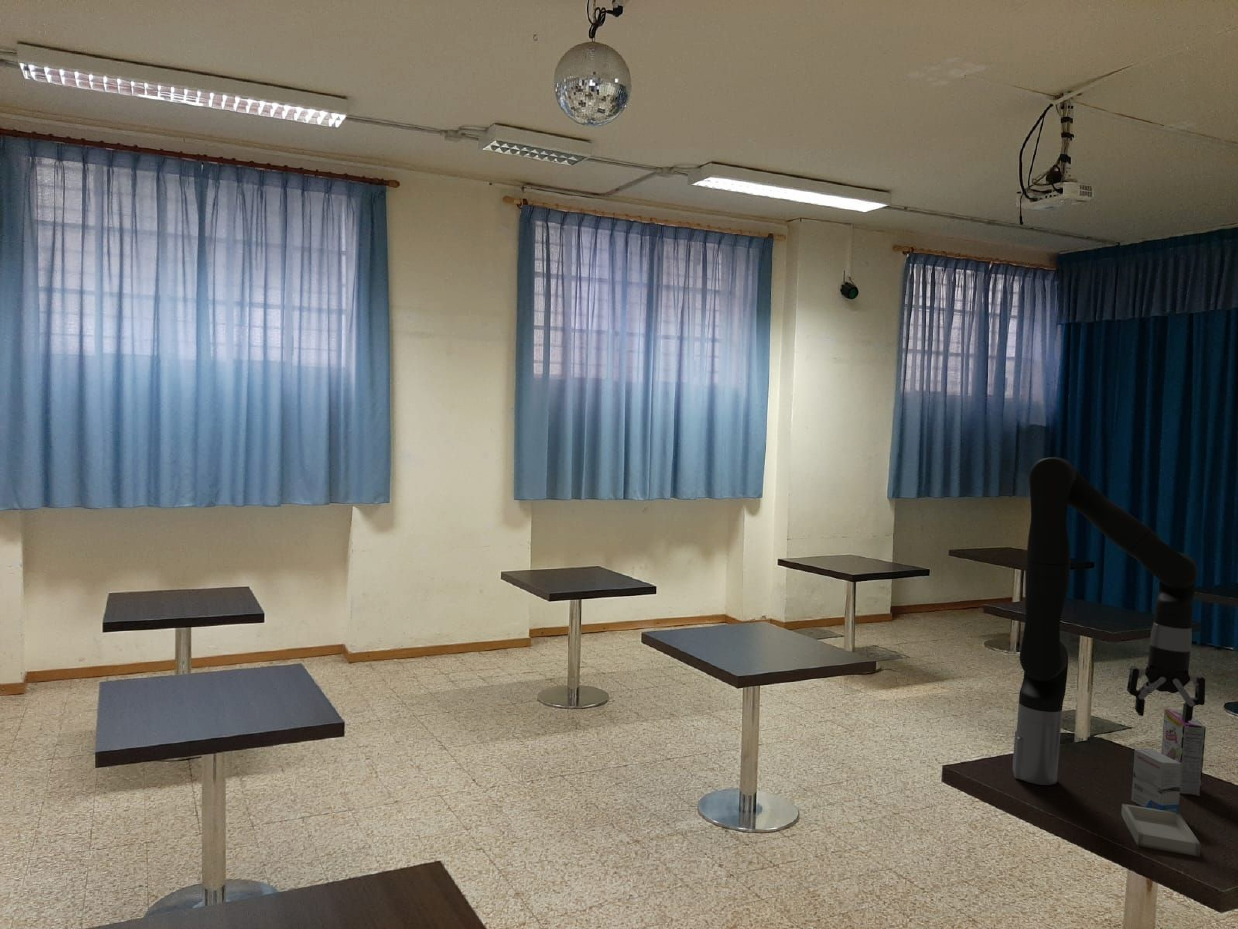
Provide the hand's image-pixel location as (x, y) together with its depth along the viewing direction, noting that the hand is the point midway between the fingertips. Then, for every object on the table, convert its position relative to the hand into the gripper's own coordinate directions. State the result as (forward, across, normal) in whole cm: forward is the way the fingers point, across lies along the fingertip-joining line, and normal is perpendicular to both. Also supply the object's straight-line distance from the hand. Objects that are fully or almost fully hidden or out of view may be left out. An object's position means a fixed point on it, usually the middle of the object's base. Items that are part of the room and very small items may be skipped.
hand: (1162, 718), depth 192 cm
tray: (+20, -2, -15) cm, 25 cm away
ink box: (+20, 0, 0) cm, 20 cm away
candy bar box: (+20, +9, +17) cm, 28 cm away
